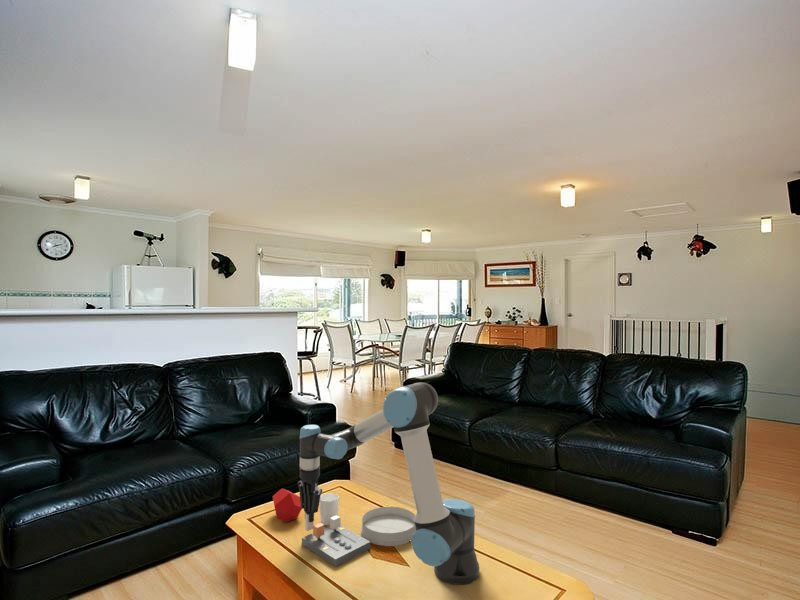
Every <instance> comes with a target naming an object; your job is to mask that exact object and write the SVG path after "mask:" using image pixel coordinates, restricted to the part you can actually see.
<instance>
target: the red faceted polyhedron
mask: <svg viewBox="0 0 800 600" xmlns="http://www.w3.org/2000/svg"><path fill="white" fill-rule="evenodd" d="M272 501H273V505H274V511H275V515H276V519H278V520H280V521H281V522H284V523H287V522H290V521H293V520H296V519H298V518H299V515H300V513H301V511H302V510H303V509H302V508H301V501H300V495H297V494H296V493H293V492H292V491H289V490H287V489H285V488H281V489H279V490H278V491H277V492H276V493H274V495H272Z"/></svg>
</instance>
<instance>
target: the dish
mask: <svg viewBox="0 0 800 600" xmlns="http://www.w3.org/2000/svg"><path fill="white" fill-rule="evenodd" d="M415 516H416V514H415V513H414V512H412V511H411V510H408V509H406V508H404V507H399V506H382V507H381V506H380V507H376V508H373V509H370V510H368V511H367V512H365V513H364V514H363V515H362V517H361V527H360V528H361V536H362V537H363V538H364V539H366V540H368V541H370V544H373V545H378V546H382V547H383V546H384V547H395V546H401V545H405V544H408V543H410V542H411V541H412V537H413V534H414V532H415V531H416V527H415V523H414V517H415ZM410 540H411V541H410ZM409 541H410V542H409ZM407 542H408V543H407Z"/></svg>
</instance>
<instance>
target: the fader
mask: <svg viewBox="0 0 800 600" xmlns="http://www.w3.org/2000/svg"><path fill="white" fill-rule="evenodd" d="M324 528H325V525H324V524H322V523H321V522H319V523H316V524H313V529H312V530H313V531H312V533H313V536H315V537H317V538H318V539H320V536H322V535H324Z"/></svg>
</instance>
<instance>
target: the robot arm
mask: <svg viewBox="0 0 800 600" xmlns="http://www.w3.org/2000/svg"><path fill="white" fill-rule="evenodd" d="M438 404H439V396H438V393H437V391H436V389H435V388H434V387H433V386H432V385H431V384H429V383H426V382H421V381H420V382H415V383H412V384H407V385H405V386H404V385H403V386H400V387H397V388H395V389H393V390H391V391H390V392H389V393H387V395H386V397H385V398H384V400H383V407H382V409H381V410H379V411H378V412H376V413H374V414H372V415H370V416H369V417H367V418H365V419H363V420H361V421H360V422H358V423H355V424H354V425H352V426H351V427H349V428H347V429H344V430H342V431H338V432H335V433H333V434H325V433H321V432H322V431H321V427H320V426H319V425H317V424H306V425H303V426H302V427H301V428H300V430H299V431H300V433H299V479H300V480H299V481H297V487H298V493H299V497H300V501H301V508H302V509H301V510H303V512H304V521H305V522H304V530H305V531H306V532H309V531H311V530H313V526H314V521H315V513H318V512H319V509H320V496H321V495H322V494H323V493H322V492H323V489H322V488H319V481H318V480H319V478H320V475H321V467H320V466H321V464H320V463H321V461H320V460H321V459H320V458H321V456H322V457H325V458H329V459H332V460H333V459H334V460H341V459H343V458H344V456H345V455H346V454H347V452H348V451H349V450H351V449H354V448H357V447H359V446H361V445H362V446H363V444H365V443H366V442H368V441H370V440H371V439H373V438H375V437H377V436H380V435H381V434H383V433H386V432H387V431H389V430H391V429H394V433H395V434H396V435H398V436H400V439H401V444H402V449H403V453H404V459H405V463H406V467H407V471H408V477H409V480H410V481H409V482H410V485H411V490H412V494H413V499H414V503H415V509H416V514H415V517H414V523H415V527H416V531H415V532H414V534H413V537H412V540H411V547H412V550H413V552H414V554H415V556H416V557H417V558H418V560H421V562H422V563H424V564H425V565H428V566H429V567H433V571H434V574H435V575H436V577H437V578H439V579H440V580H442V581H443V582H445V583H448V584H452V585H467V584H471V583H473V582H475V581H476V580H477V579H478V578H479V577H480V564H479V561H478V558H477V554H476V551H475V530H476V529H475V521H476V520H475V517H476V515H475V507H474V505H472V503H470V502H468V501H466V500H462V499H456V498H447V499H443V498H442V493H441V489H440V485H439V479H438V475H437V471H436V470H437V469H436V465H435V462H434V458H433V454H432V450H431V448H432V447H431V444H430V440H429V436H428V431H427V430H428V428H429V427H430V425H431V423H430V419H429V416H430V415H431V414H433V412H435V410H436V409H437V407H438Z"/></svg>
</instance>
